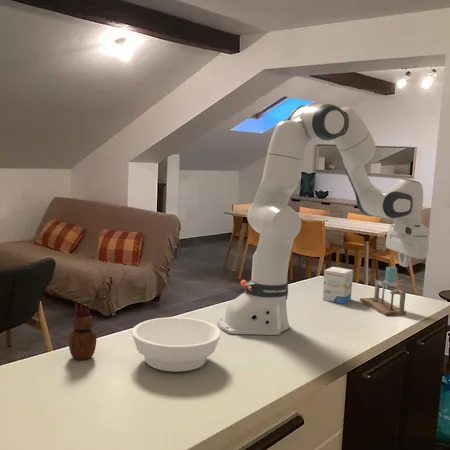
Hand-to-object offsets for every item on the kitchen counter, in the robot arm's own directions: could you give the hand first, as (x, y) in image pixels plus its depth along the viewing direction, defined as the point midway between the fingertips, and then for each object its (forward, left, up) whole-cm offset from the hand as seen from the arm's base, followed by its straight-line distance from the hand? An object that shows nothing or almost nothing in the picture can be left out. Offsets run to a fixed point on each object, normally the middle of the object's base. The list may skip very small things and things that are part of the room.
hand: (403, 266), depth 188 cm
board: (-3, +7, -17) cm, 19 cm away
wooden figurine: (-108, -26, -17) cm, 112 cm away
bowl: (-85, -32, -17) cm, 92 cm away
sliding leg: (-1, +7, -15) cm, 17 cm away
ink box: (-15, +19, -17) cm, 30 cm away
